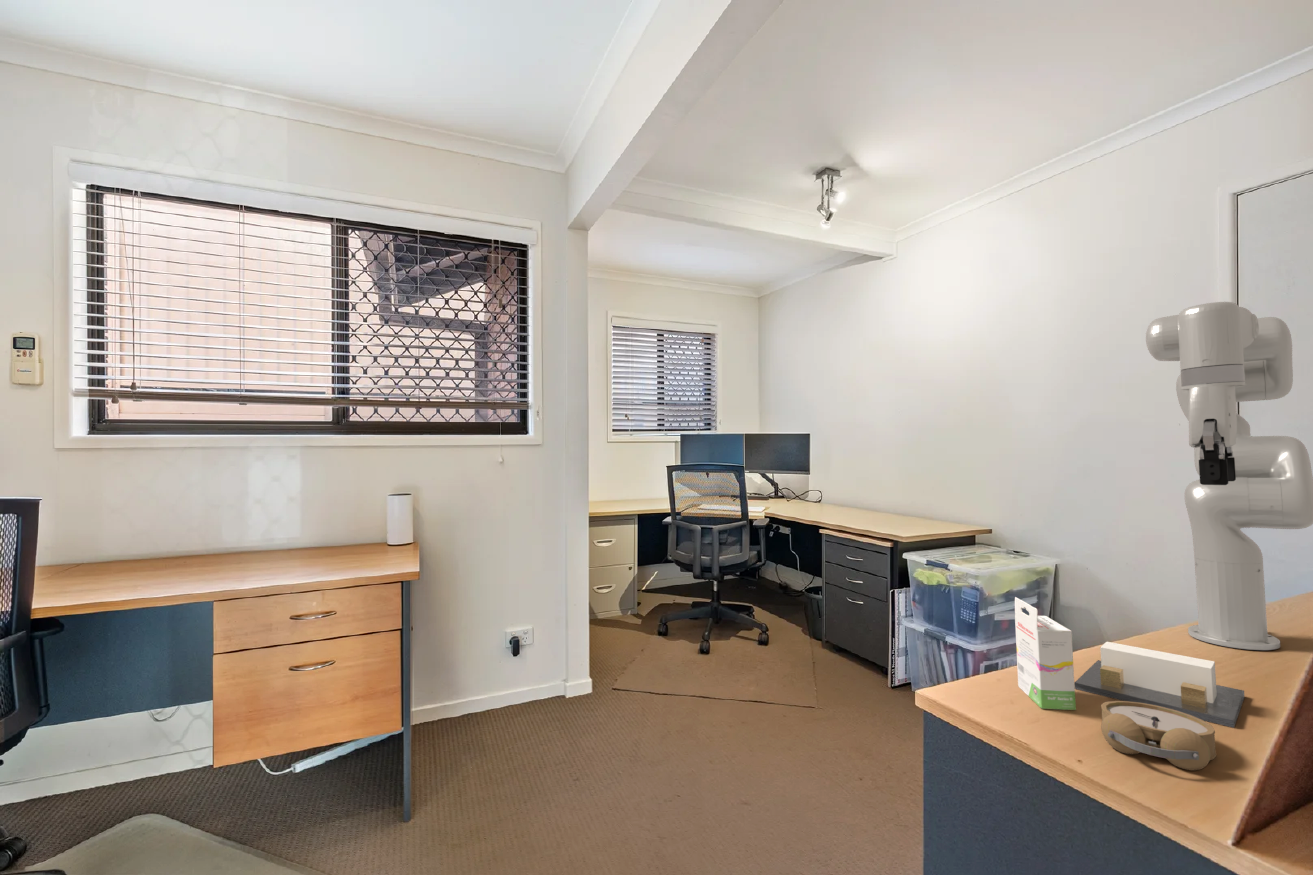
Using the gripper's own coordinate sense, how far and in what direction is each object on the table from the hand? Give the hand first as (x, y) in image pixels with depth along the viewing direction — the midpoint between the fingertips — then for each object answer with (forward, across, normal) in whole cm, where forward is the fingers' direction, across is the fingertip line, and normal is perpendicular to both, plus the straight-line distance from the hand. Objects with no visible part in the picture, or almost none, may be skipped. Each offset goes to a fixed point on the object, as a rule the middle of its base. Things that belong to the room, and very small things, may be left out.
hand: (1218, 482), depth 93 cm
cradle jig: (+32, +14, -7) cm, 36 cm away
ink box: (+32, +28, -18) cm, 46 cm away
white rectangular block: (+31, +14, -7) cm, 35 cm away
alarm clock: (+32, +35, -4) cm, 48 cm away
